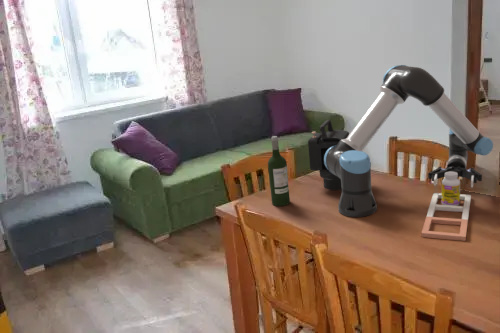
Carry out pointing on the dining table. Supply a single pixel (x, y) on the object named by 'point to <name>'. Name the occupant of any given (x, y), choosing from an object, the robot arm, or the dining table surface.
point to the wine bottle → (278, 176)
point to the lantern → (318, 149)
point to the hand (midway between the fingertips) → (453, 183)
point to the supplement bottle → (451, 189)
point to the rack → (462, 222)
